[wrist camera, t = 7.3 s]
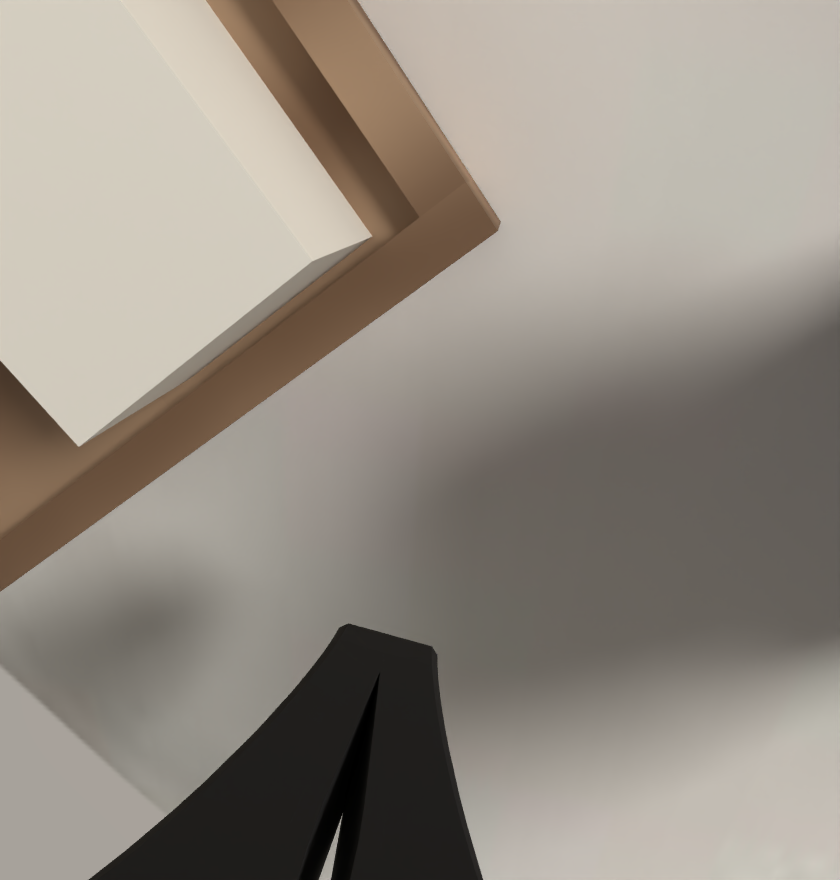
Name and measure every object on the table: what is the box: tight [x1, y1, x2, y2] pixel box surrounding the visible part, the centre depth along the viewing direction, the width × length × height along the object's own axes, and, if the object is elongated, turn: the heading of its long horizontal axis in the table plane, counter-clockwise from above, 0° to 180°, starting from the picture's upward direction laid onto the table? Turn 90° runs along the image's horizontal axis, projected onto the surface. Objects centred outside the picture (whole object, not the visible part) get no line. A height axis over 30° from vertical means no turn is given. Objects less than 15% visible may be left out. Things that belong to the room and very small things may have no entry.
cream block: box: [0, 0, 372, 447], centre depth 11 cm, size 5×5×4 cm
